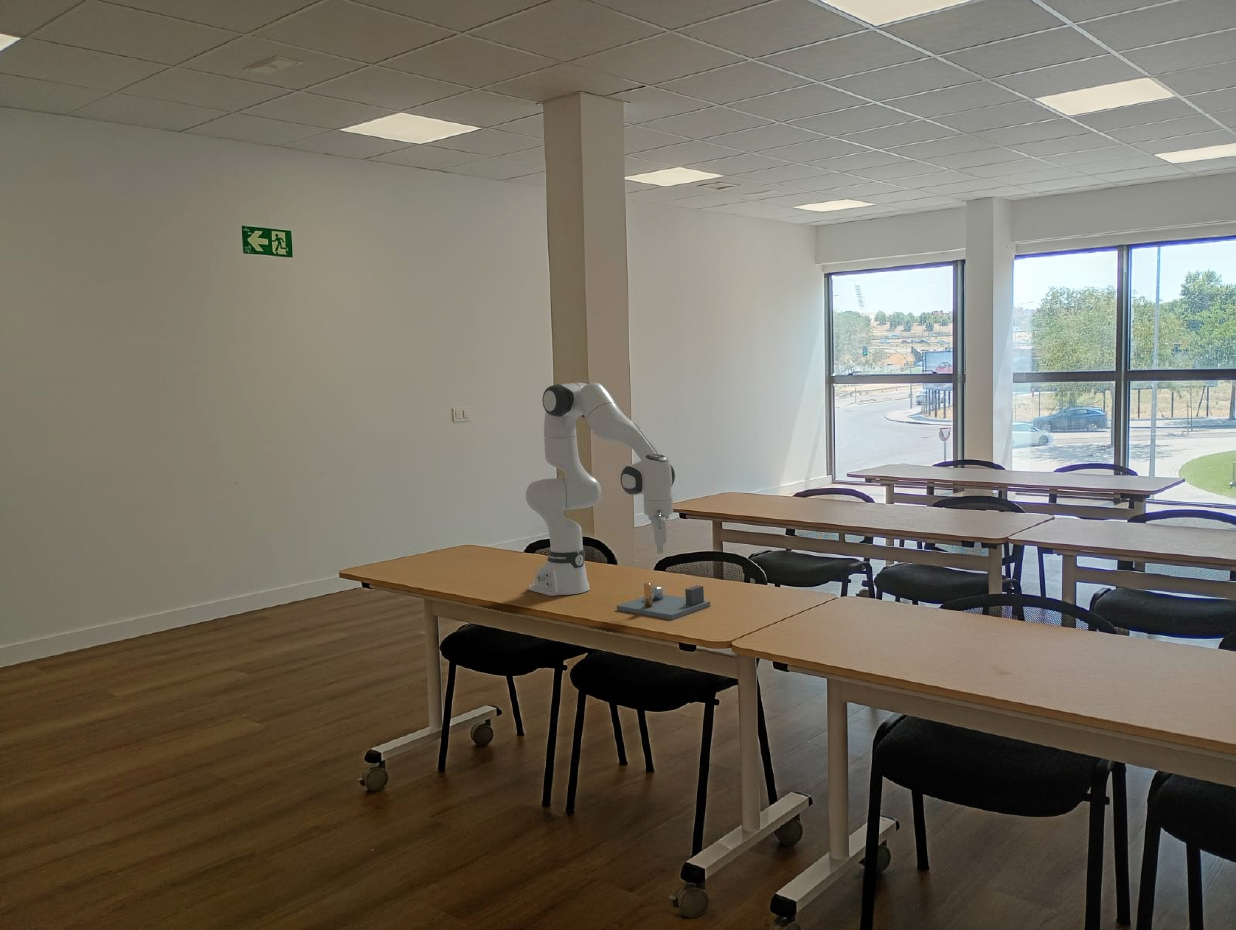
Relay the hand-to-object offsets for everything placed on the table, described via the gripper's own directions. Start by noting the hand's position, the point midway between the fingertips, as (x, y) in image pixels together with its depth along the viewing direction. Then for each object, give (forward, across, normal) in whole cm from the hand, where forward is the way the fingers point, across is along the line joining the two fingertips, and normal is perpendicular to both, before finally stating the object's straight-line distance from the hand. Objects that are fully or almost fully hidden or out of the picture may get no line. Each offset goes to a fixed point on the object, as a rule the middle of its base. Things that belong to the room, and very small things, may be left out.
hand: (659, 552), depth 292 cm
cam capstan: (+17, +4, +3) cm, 17 cm away
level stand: (+18, +2, -1) cm, 18 cm away
